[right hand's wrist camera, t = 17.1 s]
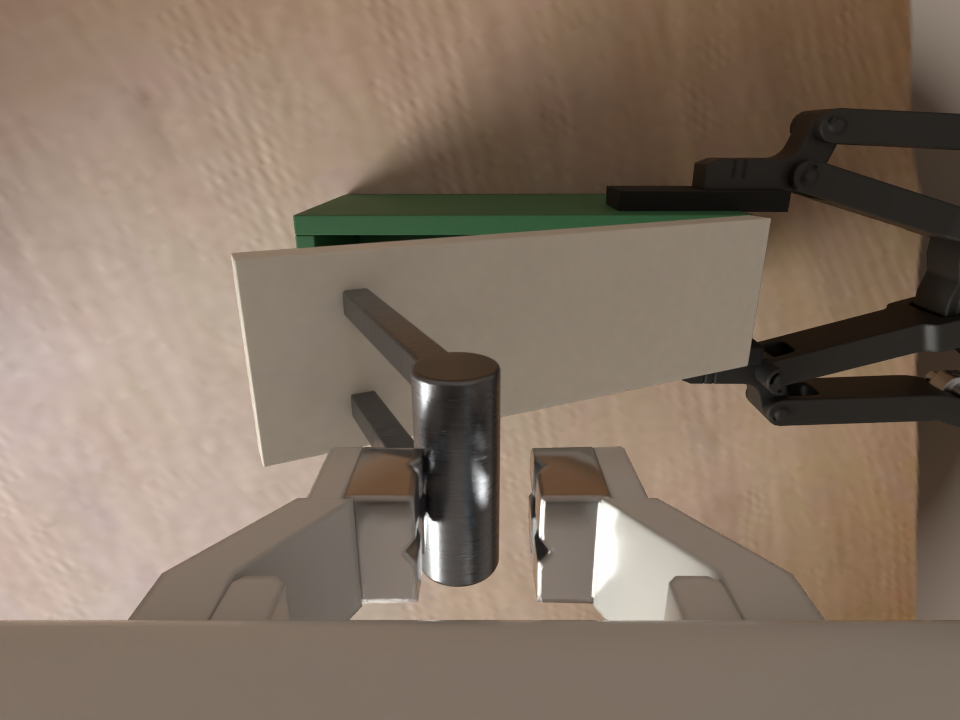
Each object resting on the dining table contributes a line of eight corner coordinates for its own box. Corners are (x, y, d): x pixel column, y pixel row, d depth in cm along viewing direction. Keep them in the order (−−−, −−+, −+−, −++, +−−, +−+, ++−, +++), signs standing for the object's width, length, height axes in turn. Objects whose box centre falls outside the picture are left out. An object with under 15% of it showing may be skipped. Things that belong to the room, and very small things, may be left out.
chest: (353, 301, 33) (308, 356, 24) (345, 194, 31) (292, 215, 22) (669, 301, 32) (732, 357, 24) (681, 193, 30) (753, 214, 22)
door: (259, 451, 17) (319, 679, 10) (230, 252, 15) (278, 356, 8) (728, 357, 24) (961, 451, 17) (748, 215, 22) (1022, 251, 15)
